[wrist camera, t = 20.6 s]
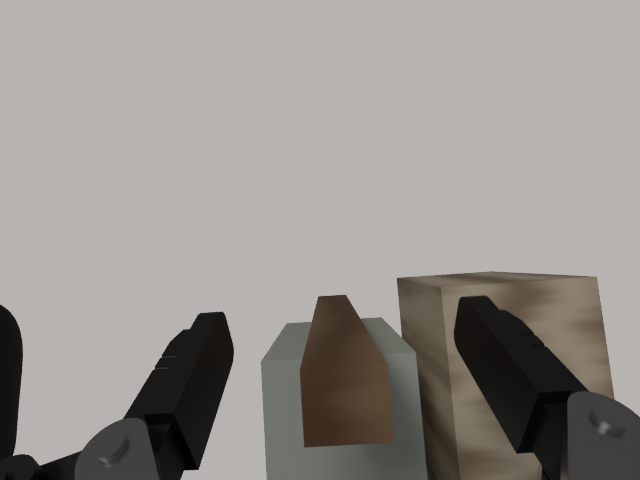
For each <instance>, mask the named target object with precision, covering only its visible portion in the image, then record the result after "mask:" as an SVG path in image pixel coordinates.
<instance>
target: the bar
mask: <svg viewBox="0 0 640 480" xmlns="http://www.w3.org/2000/svg"><path fill="white" fill-rule="evenodd" d="M300 386H301V403H302V419H303V436H304V448H307V447H324V446H342V445H359V444H377V443H394V431H393V420H392V408H391V396H390V384H389V372H388V364H387V363H386V361H385V359H384V358H383V356H382V354H381V353H380V351H379V349H378V348H377V346H376V344H375V343H374V341H373V339H372V338H371V336H370V334H369V333H368V331H367V329H366V328H365V326H364V324H363V323H362V321H361V319H360V318H359V316H358V314H357V313H356V311H355V310H354V308H353V306H352V304H351V303H350V301H349V299H348V298H347V296H346V295H335V296H320V297H318V300H317V304H316V308H315V312H314V316H313V320H312V324H311V327H310V331H309V335H308V339H307V343H306V347H305V351H304V355H303V359H302V363H301V367H300Z"/></svg>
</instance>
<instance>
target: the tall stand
mask: <svg viewBox="0 0 640 480" xmlns="http://www.w3.org/2000/svg"><path fill="white" fill-rule="evenodd" d="M397 283H398V284H397V285H398V296H399V307H400V318H401V330H402V339H403V340H404V341H405V342H406V343H407V344H408V345H409V346H410V347H411V348H412V349H413V350H414V351H415V352H416V360H417V371H418V381H419V392H420V403H421V414H422V425H423V435H424V446H425V457H426V468H427V479H428V480H537V471H538V467H539V464H540V462H539V461H538V459H537V457H536V456H535V454H534V453H520V454H516V452H515V450H514V449H513V447H512V445H511V443H510V442H509V440H508V438H507V436H506V435H505V433H504V431H503V429H502V428H501V426H500V424H499V422H498V421H497V419H496V417H495V415H494V414H493V412H492V410H491V408H490V407H489V405H488V403H487V401H486V400H485V398H484V396H483V394H482V393H481V391H480V389H479V387H478V386H477V384H476V382H475V380H474V379H473V377H472V375H471V373H470V372H469V370H468V368H467V366H466V365H465V363H464V361H463V359H462V358H461V356H460V354H459V352H458V351H457V348H456V345H455V342H454V327H455V321H456V314H457V308H458V302H459V299H460V298H461V297H466V296H482V295H485V296H487V297H489V298H490V299H491V301H492V302H493V303H494V304H495V305H496V306H497V307H498V308H499V310H506V311H508V312H510V313H511V314H513V315H514V316H516V317H518V318H519V319H521V320H522V321H523V322H524V323H525V324H526V325H527V326H528V327H529V328H530V329H531V330H532V331H533V332H534V335H535V336H537V337H538V338H539V339H540V340H541V341H542V342H543V343H544V346H545V347H548V348H549V349H550V350H551V351H552V352H553V353H554V355H555V356H556V357H557V358H558V359H559V360H560V361H561V362H562V363H563V364H564V365H565V366H566V367H567V368H568V369H569V370H570V371H571V372H572V373H573V375H574V376H575V377H576V378H577V379H578V380H579V381H580V382H581V383H582V384H583V385H584V386H585V387H586V388H587V389H588V390H589V391H590V392H594V393H598V394H601V395H604V396H607V397H609V398H612V399H614V393H613V386H612V379H611V372H610V365H609V358H608V352H607V344H606V338H605V330H604V324H603V317H602V311H601V303H600V296H599V289H598V283H597V277H589V276H568V275H549V274H529V273H527V274H526V273H509V272H508V273H507V272H479V273H464V274H449V275H435V276H419V277H405V278H397ZM614 400H615V399H614Z"/></svg>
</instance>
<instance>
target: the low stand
mask: <svg viewBox="0 0 640 480" xmlns="http://www.w3.org/2000/svg"><path fill="white" fill-rule="evenodd" d="M361 321H362V323H363V324H364V326H365V328H366V329H367V331H368V333H369V334H370V336H371V338H372V339H373V341H374V343H375V344H376V346H377V348H378V349H379V351H380V353H381V354H382V356H383V358H384V359H385V361H386V363H387V364H388V372H389V384H390V396H391V408H392V420H393V431H394V443H377V444H359V445H342V446H324V447H307V448H304V436H303V419H302V403H301V386H300V367H301V363H302V359H303V355H304V351H305V347H306V343H307V339H308V335H309V331H310V327H311V324H312V322H303V323H288V324H286V326H285V327H284V328H283V330H282V331H281V333H280V335H279V336H278V337H277V339H276V340H275V342H274V343H273V345H272V346H271V348H270V349H269V351H268V352H267V354H266V355H265V357H264V358H263V360H262V361H261V370H262V371H261V372H262V392H263V411H264V431H265V452H266V470H267V480H428V479H427V468H426V457H425V446H424V435H423V425H422V414H421V403H420V392H419V381H418V371H417V360H416V352H415V351H414V350H413V349H412V348H411V347H410V346H409V345H408V344H407V343H406V342H405V341H404V340H403V339H402V338H401V337H400V336H399V335H398V334H397V333H396V332H395V331H394V330H393V329H392V328H391V327H390V326H389V325H388V324H387V323H386V322H385V321H384V320H383V319H382V318H381V317H380V318H365V319H361Z"/></svg>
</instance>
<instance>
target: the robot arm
mask: <svg viewBox="0 0 640 480" xmlns="http://www.w3.org/2000/svg"><path fill="white" fill-rule="evenodd" d="M454 342H455V345H456V348H457V351H458V352H459V354H460V356H461V358H462V359H463V361H464V363H465V365H466V366H467V368H468V370H469V372H470V373H471V375H472V377H473V379H474V380H475V382H476V384H477V386H478V387H479V389H480V391H481V393H482V394H483V396H484V398H485V400H486V401H487V403H488V405H489V407H490V408H491V410H492V412H493V414H494V415H495V417H496V419H497V421H498V422H499V424H500V426H501V428H502V429H503V431H504V433H505V435H506V436H507V438H508V440H509V442H510V443H511V445H512V447H513V449H514V450H515V452H516V454H520V453H534V454H535V456H536V457H537V459H538V461H539V462H540V464H539V467H538V471H537V480H640V417H639V416H638V415H637V414H635V413H634V412H633V411H632V410H630V409H629V408H627V407H626V406H624V405H623V404H621V403H620V402H618V401H615V400H614V399H612V398H609V397H607V396H604V395H601V394H598V393H594V392H590V391H589V390H588V389H587V388H586V387H585V386H584V385H583V384H582V383H581V382H580V381H579V380H578V379H577V378H576V377H575V376H574V375H573V373H572V372H571V371H570V370H569V369H568V368H567V367H566V366H565V365H564V364H563V363H562V362H561V361H560V360H559V359H558V358H557V357H556V356H555V355H554V353H553V352H552V351H551V350H550V349H549V348H548V347H545V346H544V343H543V342H542V341H541V340H540V339H539V338H538V337H537V336H535V335H534V332H533V331H532V330H531V329H530V328H529V327H528V326H527V325H526V324H525V323H524V322H523V321H522V320H521V319H519V318H518V317H516V316H514V315H513V314H511V313H510V312H508V311H506V310H499V308H498V307H497V306H496V305H495V304H494V303H493V302H492V301H491V299H490V298H489V297H487V296H485V295H482V296H466V297H461V298H460V299H459V302H458V308H457V314H456V321H455V327H454ZM233 355H234V348H233V343H232V339H231V335H230V331H229V327H228V324H227V320H226V317H225V314H224V313H223V312H211V313H200V314H199V315H198V316H197V318H196V319H195V321H194V323H193V325H192V327H191V328H190V329H188V330H183V331H182V332H180V333H179V334H178V335H177V336H176V337H175V338H174V339H173V340H172V341H171V342H170V343H169V345H168V346H167V348H166V350H165V351H164V353H163V354H162V358H160V359H159V361H158V363H157V364H156V366H155V370H153V371H152V372H151V374H150V376H149V378H148V379H147V381H146V382H145V384H144V385H143V387H142V389H141V390H140V392H139V394H138V395H137V397H136V399H135V400H134V402H133V404H132V405H131V407H130V409H129V410H128V412H127V413H126V415H125V417H124V418H123V419H122V420H120V421H117V422H115V423H113V424H111V425H109V426H107V427H106V428H104V429H103V430H101V431H100V432H99V433H98V434H96V435H95V436H94V437H93V438H92V439H91V440H90V441H89V442H88V443H87V445H86V446H85V447H84V449H83V450H82V451H80V452H77V453H74V454H72V455H69V456H66V457H63V458H61V459H58V460H55V461H52V462H50V463H47V464H44V465H41V466H39V465H38V463H37V462H36V461H35V460H34V459H33V458H32V457H31V456H29V455H25V454H22V455H15V456H13V453H14V448H15V444H16V435H17V420H18V408H19V396H20V386H21V375H22V361H23V346H22V338H21V332H20V329H19V326H18V324H17V322H16V320H15V318H14V317H13V315H12V314H11V313H10V312H9V311H8V310H7V309H6V308H5V307H3V306H2V305H0V480H180V479H181V477H182V474H183V471H184V470H198V469H199V467H200V463H201V460H202V457H203V454H204V451H205V448H206V445H207V441H208V438H209V435H210V432H211V429H212V426H213V423H214V420H215V417H216V413H217V410H218V407H219V404H220V401H221V398H222V395H223V392H224V388H225V385H226V382H227V379H228V376H229V373H230V370H231V367H232V363H233V357H234V356H233Z"/></svg>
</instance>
